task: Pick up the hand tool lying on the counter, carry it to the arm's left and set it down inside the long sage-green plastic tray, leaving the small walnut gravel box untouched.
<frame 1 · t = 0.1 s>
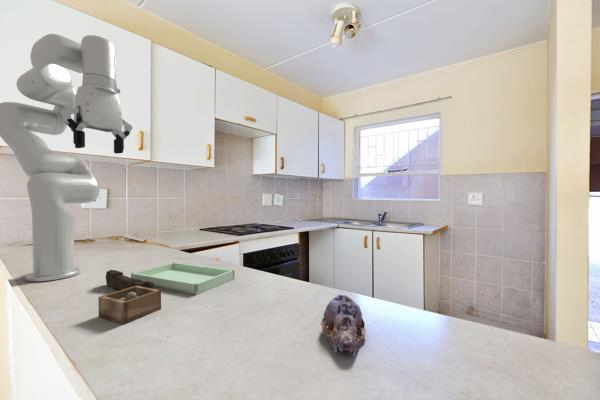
hand: (100, 150, 75), 37 cm above the worktop, tool pointing down, fingers open, 9 cm apart
skull: (342, 341, 47), on the worktop
gravel box: (130, 312, 58), on the worktop
hand tool: (123, 292, 72), on the worktop
tray: (183, 280, 81), on the worktop
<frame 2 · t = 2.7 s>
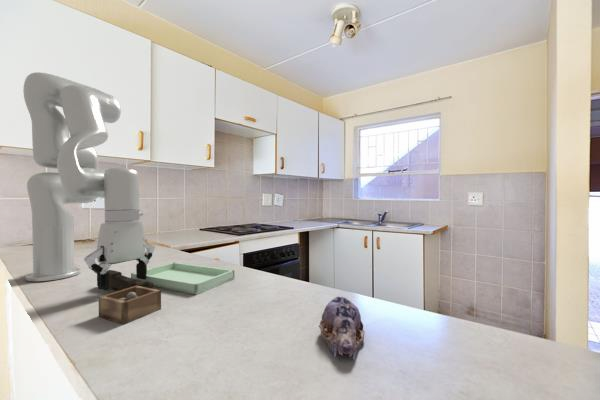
hand: (123, 283, 72), 2 cm above the worktop, tool pointing down, fingers open, 9 cm apart
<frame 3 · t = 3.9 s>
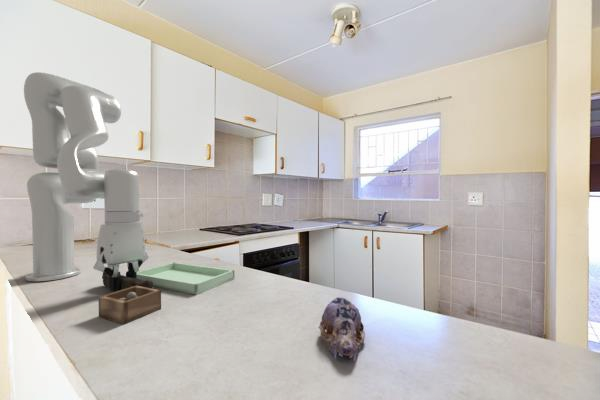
hand: (123, 288, 72), 1 cm above the worktop, tool pointing down, fingers closed on hand tool, 3 cm apart
hand tool: (121, 292, 71), on the worktop, touching gripper
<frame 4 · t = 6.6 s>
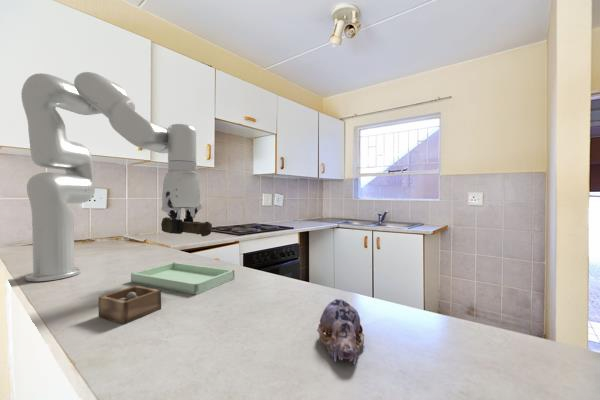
hand: (183, 232, 80), 14 cm above the worktop, tool pointing down, fingers closed on hand tool, 3 cm apart
hand tool: (182, 235, 80), point 13 cm above the worktop, touching gripper
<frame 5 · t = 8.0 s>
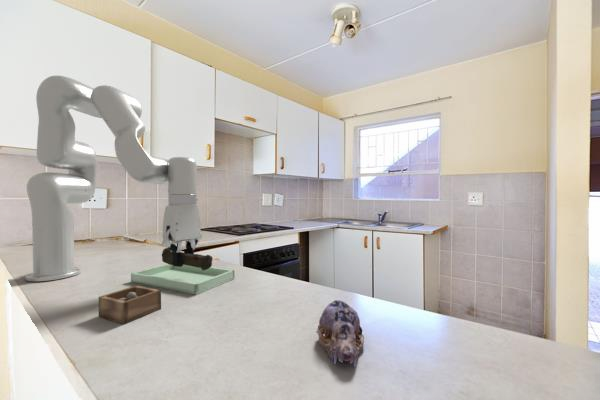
hand: (183, 263, 81), 5 cm above the worktop, tool pointing down, fingers closed on hand tool, 3 cm apart
hand tool: (182, 267, 80), point 4 cm above the worktop, touching gripper
when the fingers open (2 cm above the worktop, at t = 9.2 s): hand tool drops 1 cm, resting on tray.
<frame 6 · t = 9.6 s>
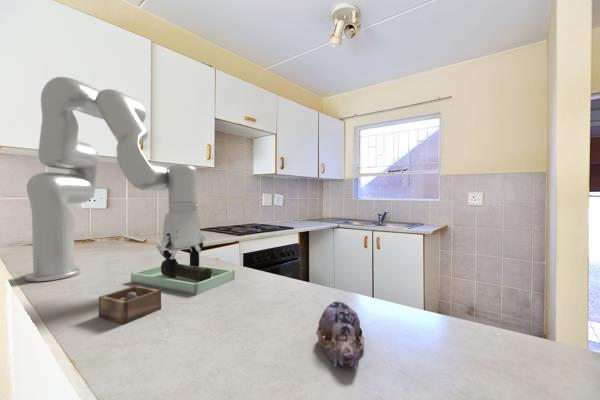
hand: (183, 269, 81), 3 cm above the worktop, tool pointing down, fingers open, 7 cm apart
hand tool: (181, 279, 80), resting on tray
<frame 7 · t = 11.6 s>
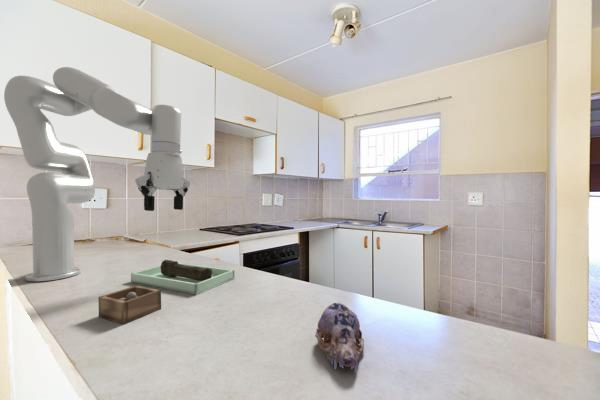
hand: (164, 210, 80), 20 cm above the worktop, tool pointing down, fingers open, 9 cm apart
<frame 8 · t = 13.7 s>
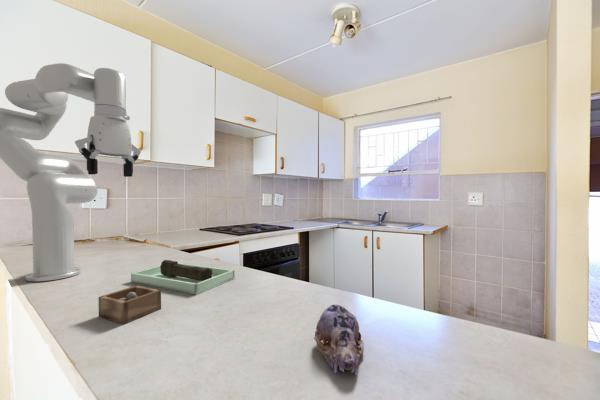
hand: (111, 175, 80), 30 cm above the worktop, tool pointing down, fingers open, 9 cm apart
at the end: hand tool inside the target area on the tray (0.6 cm from its centre), point 0.4 cm above the tray's base; the gripper is holding nothing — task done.
